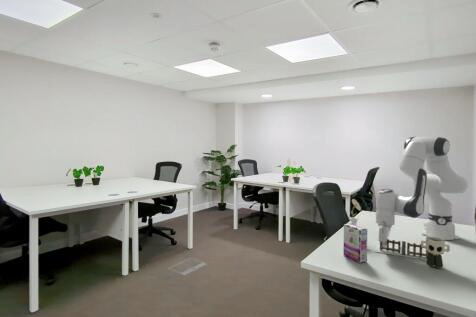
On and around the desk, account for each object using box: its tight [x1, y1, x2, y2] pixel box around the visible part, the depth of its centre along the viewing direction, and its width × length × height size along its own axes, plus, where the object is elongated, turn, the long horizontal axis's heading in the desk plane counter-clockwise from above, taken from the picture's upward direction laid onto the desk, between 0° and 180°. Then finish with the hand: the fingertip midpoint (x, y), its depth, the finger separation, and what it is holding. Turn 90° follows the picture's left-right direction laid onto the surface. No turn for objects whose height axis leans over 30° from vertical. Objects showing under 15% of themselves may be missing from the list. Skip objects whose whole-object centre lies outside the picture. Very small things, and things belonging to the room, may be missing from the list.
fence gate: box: [379, 238, 402, 253], centre depth 144 cm, size 1×10×6 cm, turn 56°
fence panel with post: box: [401, 240, 429, 258], centre depth 138 cm, size 2×12×7 cm, turn 62°
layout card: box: [375, 242, 427, 261], centre depth 145 cm, size 15×25×1 cm, turn 62°
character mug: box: [420, 236, 451, 269], centre depth 126 cm, size 11×7×13 cm, turn 57°
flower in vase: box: [342, 198, 362, 239], centre depth 161 cm, size 13×11×25 cm
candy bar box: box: [343, 223, 368, 264], centre depth 135 cm, size 11×5×16 cm, turn 21°
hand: (384, 245), depth 143 cm, fingers closed
